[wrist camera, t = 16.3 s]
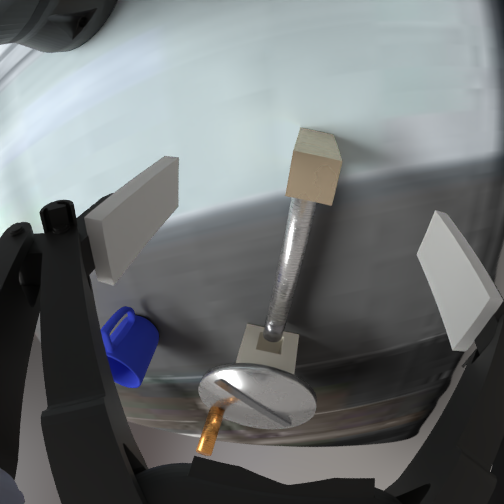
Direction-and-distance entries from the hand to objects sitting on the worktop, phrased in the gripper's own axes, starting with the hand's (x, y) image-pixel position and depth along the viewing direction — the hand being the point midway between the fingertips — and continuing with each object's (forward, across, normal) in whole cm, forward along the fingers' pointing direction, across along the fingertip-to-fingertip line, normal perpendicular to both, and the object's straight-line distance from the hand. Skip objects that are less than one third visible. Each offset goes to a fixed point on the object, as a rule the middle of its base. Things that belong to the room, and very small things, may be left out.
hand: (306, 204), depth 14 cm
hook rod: (+15, +1, -12) cm, 19 cm away
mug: (+16, -20, -32) cm, 41 cm away
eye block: (+15, +1, -30) cm, 33 cm away
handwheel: (+6, 0, -29) cm, 30 cm away
